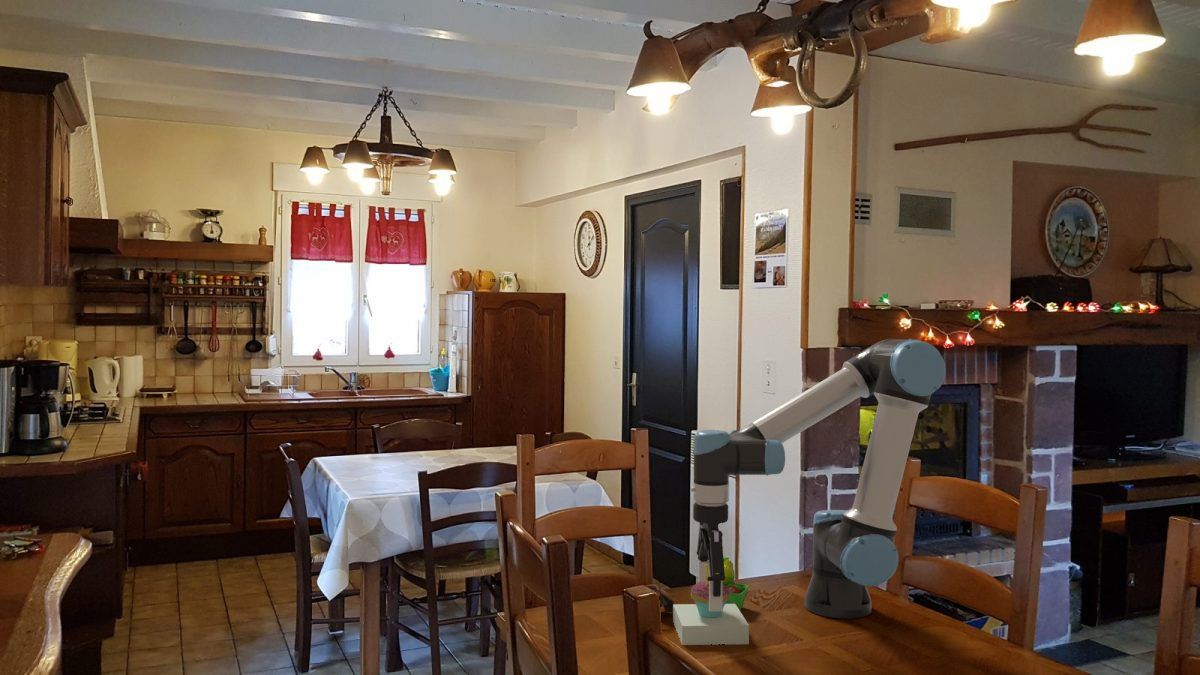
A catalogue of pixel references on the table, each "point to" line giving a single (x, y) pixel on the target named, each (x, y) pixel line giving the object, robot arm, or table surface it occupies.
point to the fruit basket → (733, 585)
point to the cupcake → (706, 597)
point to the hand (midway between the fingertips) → (709, 600)
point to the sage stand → (710, 626)
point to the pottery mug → (663, 598)
